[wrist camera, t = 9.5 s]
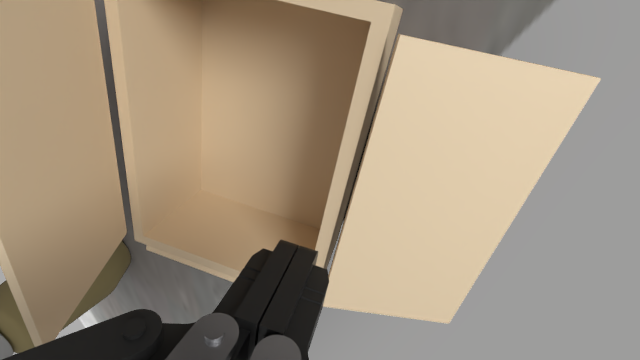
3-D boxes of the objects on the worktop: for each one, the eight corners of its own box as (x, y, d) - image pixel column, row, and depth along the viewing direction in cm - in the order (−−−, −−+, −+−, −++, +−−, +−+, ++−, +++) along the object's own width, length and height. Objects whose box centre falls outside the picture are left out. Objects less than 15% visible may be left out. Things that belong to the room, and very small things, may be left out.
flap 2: (400, 34, 13) (601, 78, 14) (398, 34, 13) (594, 76, 14) (320, 306, 21) (449, 323, 22) (320, 301, 21) (446, 318, 22)
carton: (197, -78, 21) (88, -125, 14) (415, -34, 19) (413, -64, 12) (197, 209, 32) (137, 262, 25) (332, 256, 30) (307, 326, 23)
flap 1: (79, -41, 15) (-143, -71, 7) (88, -39, 15) (-123, -67, 7) (121, 232, 23) (36, 352, 16) (126, 232, 23) (46, 352, 16)
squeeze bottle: (146, 247, 37) (-48, 411, 22) (132, 283, 41) (-39, 443, 26) (88, 207, 37) (-152, 345, 21) (79, 248, 41) (-126, 389, 25)
